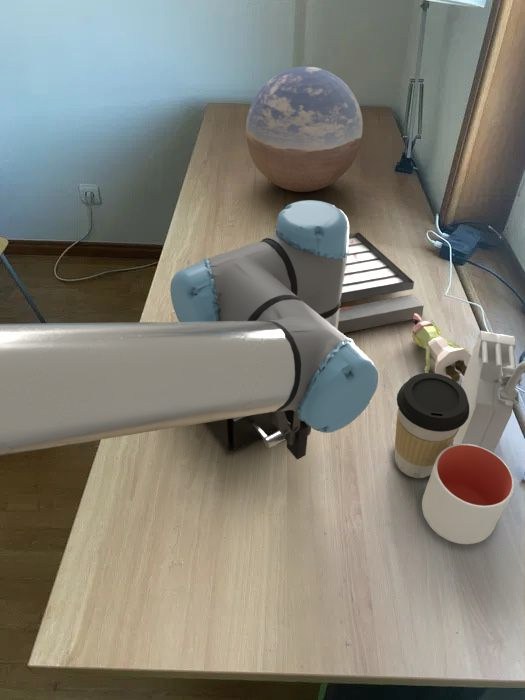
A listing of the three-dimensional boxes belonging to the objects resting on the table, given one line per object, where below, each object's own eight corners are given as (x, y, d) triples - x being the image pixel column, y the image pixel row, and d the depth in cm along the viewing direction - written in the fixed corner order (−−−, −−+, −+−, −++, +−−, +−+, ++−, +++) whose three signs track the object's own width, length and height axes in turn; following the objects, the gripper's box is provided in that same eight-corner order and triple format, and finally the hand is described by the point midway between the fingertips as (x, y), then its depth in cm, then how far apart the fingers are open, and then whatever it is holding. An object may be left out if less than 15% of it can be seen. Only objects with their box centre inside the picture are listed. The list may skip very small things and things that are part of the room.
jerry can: (487, 486, 83) (545, 365, 66) (452, 479, 84) (501, 358, 67) (484, 411, 94) (533, 290, 77) (453, 405, 95) (495, 285, 78)
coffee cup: (445, 440, 90) (469, 374, 80) (449, 493, 83) (476, 427, 72) (383, 432, 91) (398, 365, 81) (382, 482, 84) (399, 416, 74)
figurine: (485, 374, 98) (438, 326, 109) (481, 347, 93) (433, 299, 104) (441, 398, 98) (399, 346, 109) (435, 372, 93) (391, 321, 104)
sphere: (312, 154, 170) (320, 45, 150) (378, 194, 152) (396, 75, 131) (226, 177, 158) (222, 62, 138) (286, 224, 140) (290, 98, 120)
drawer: (320, 436, 89) (323, 407, 84) (253, 473, 84) (253, 444, 79) (249, 361, 102) (248, 332, 97) (187, 390, 96) (184, 360, 92)
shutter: (231, 280, 131) (271, 353, 106) (228, 252, 127) (268, 322, 102) (358, 253, 137) (424, 316, 112) (359, 226, 133) (427, 285, 108)
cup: (415, 483, 84) (429, 441, 77) (483, 487, 83) (503, 445, 77) (425, 546, 76) (442, 505, 70) (500, 550, 76) (524, 510, 69)
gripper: (327, 295, 72) (314, 416, 88) (242, 331, 67) (245, 454, 83) (367, 326, 68) (346, 448, 83) (279, 368, 62) (274, 490, 78)
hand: (296, 451), depth 83 cm, fingers closed
